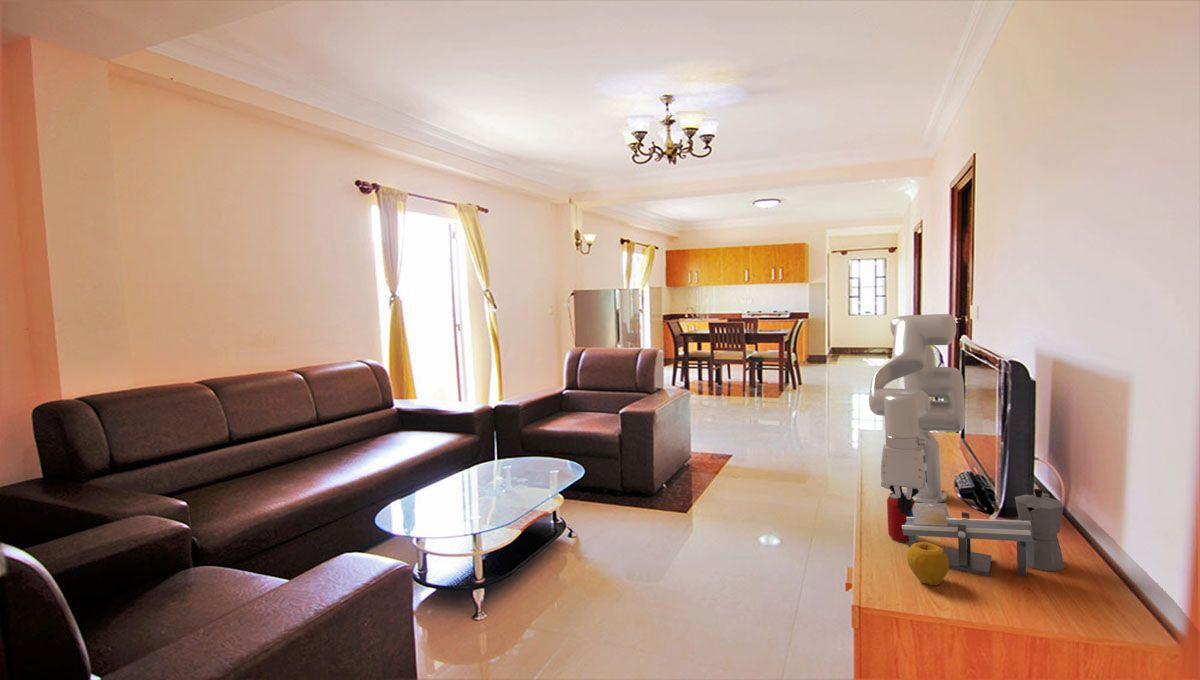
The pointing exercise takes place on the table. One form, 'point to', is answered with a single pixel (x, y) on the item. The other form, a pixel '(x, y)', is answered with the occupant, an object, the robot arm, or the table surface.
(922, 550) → the apple
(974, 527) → the beam
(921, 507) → the rider
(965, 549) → the stand
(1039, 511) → the coffeepot
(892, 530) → the beverage can
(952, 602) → the table surface
